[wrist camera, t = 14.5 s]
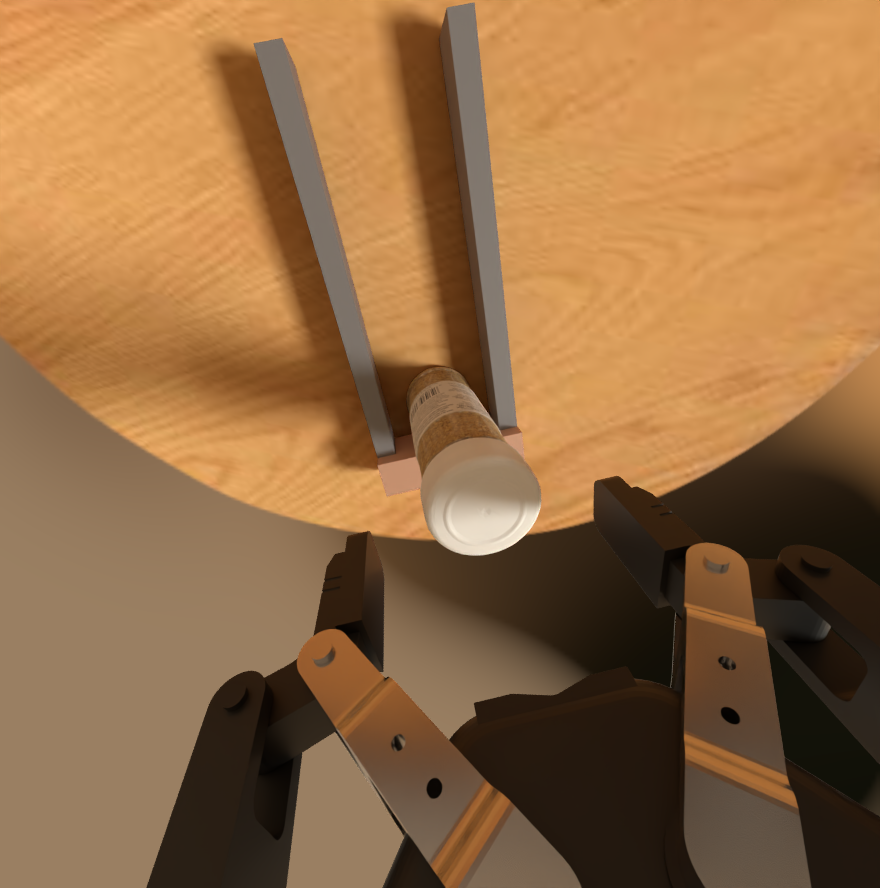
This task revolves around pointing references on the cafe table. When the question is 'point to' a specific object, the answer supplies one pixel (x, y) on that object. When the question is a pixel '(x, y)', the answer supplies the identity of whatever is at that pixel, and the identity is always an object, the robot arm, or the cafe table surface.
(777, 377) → the cafe table surface
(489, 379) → the guide channel
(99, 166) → the cafe table surface
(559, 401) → the cafe table surface
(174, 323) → the cafe table surface
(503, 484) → the sprinkles bottle
